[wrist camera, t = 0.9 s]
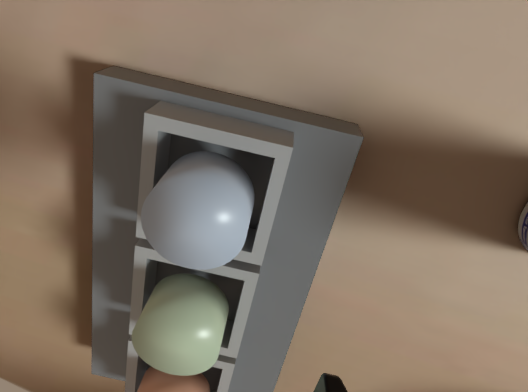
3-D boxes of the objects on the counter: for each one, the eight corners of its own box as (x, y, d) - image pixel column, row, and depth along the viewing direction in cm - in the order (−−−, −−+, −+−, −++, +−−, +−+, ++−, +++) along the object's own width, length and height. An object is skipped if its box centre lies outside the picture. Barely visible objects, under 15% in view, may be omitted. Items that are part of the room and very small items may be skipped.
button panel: (268, 386, 28) (263, 442, 24) (105, 349, 28) (76, 401, 24) (357, 124, 19) (371, 154, 15) (113, 65, 18) (68, 81, 15)
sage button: (221, 340, 21) (212, 383, 18) (148, 323, 20) (129, 365, 18) (235, 283, 19) (226, 324, 16) (154, 265, 19) (134, 303, 16)
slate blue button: (244, 242, 18) (236, 279, 15) (159, 222, 17) (137, 256, 15) (263, 163, 16) (256, 192, 13) (167, 141, 16) (144, 165, 13)
